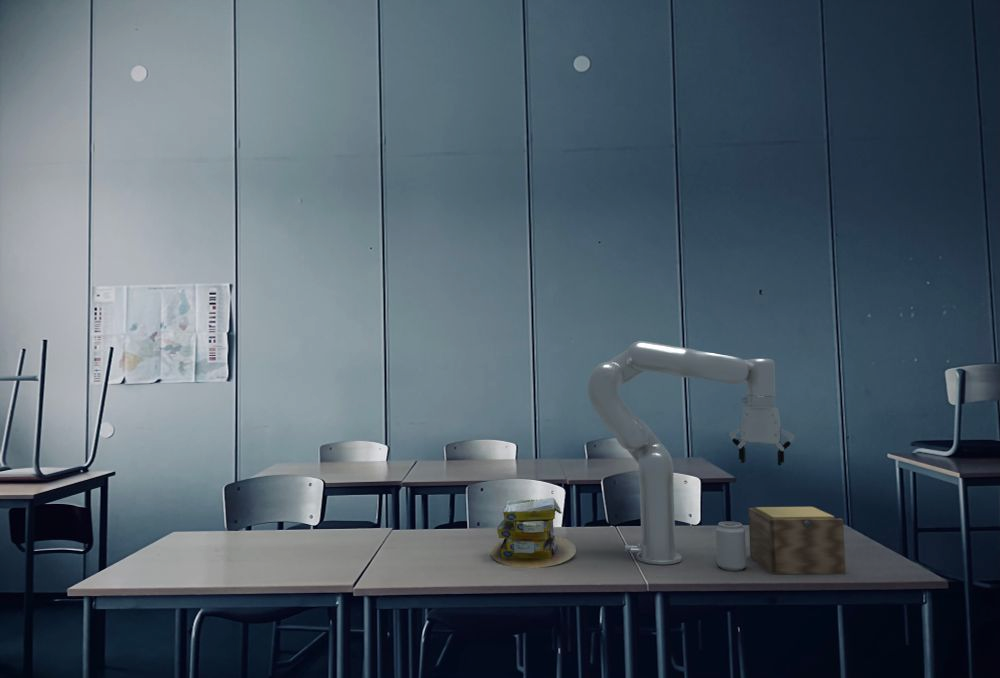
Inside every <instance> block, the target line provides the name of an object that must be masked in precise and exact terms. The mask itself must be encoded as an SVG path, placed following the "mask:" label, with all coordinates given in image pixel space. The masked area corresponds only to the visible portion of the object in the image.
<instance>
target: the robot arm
mask: <svg viewBox="0 0 1000 678" xmlns="http://www.w3.org/2000/svg"><path fill="white" fill-rule="evenodd" d="M644 372H651V373H657V374H663V375H667V376H673V377H679V378H681V377H682V378H686V379H687V378H692V379H701V380H708V381H714V382H715V381H716V382H720V383H725V384H729V385H738V384H744V383H745V384H746V396H744V397H741V403H744V404H746V406H743V409H742V415H741V426H740V427H738V428H736V429H733V430H731V431H729V432H728V435H729V437H730V439H731V441H732V443H733V444H734V445H735V446H736V447H737V448H738V460H740V463H741V464H744V463H746V448H745V446H746V444H748V443H749V444H750V443H752V444H765V445H766V444H767V445H771V444H772V445H775V446H776V447H777V448H778V451H777V466H782V464H783V463H785V450H786V449H787V448H788V447H789V446H791V444H792V443H793V441H794V439H795V437H796V435H794V434H793V433H791V432H789V431H788V430H785V429H783V428H781V418H780V413H779V408H778V407H776V363H775V361H774V360H773V359H771V358H750V359H742V358H741V357H738V356H732V355H731V356H730V355H726V354H725V355H724V354H718V353H713V352H706V351H701V350H698V349H692V348H689V347H688V348H687V347H683V346H676V345H675V346H674V345H668V344H662V343H659V342H650V341H644V340H638V341H635V342H632V343H631V344H630V345H629V347H628V348H627V349H626V350H625V351H623V352H621V353H620V354H617V355H616V356H615V357H613V358H611V359H610V360H608V361H604V362H601V363H598V365H597V366H596V367H594V369H593V371H592V373H591V375H590V378H589V381H588V384H587V393H588V399H589V402H590V404H591V407H592V408H593V410H594V411H595V413H596V414H597V415H598V417H599V418H600V419H601V420H602V422H603V423H604V425H605V426H606V427H607V429H608V430H609V431H610V433H611V434H612V435H613V437H614V438H615V439H616V441H617V443H618V444H619V445H620V447H621V448H622V449H625V450H626V451H627V452H628V453H629V454H630V456H631V457H632V458H633V459H634V460H635V461H636V463H637V465H638V480H639V481H638V482H639V504H640V505H639V506H640V510H639V511H640V536H641V537H640V538H641V540H639V542H638V543H636V544H634V545H633V544H625V546H624V549H625V553H627V552H629V553H631V554H636V555H635V557H636V559H637V560H638V561H639V562H641V563H645V564H650V565H659V566H660V565H663V566H664V565H673V564H674V565H675V564H677V563H680V562H681V561H682V555H681V554H680V553H678V552H676V551H677V550H676V523H675V522H676V521H675V519H676V518H675V498H674V497H675V495H674V493H675V492H674V464H673V463H674V462H673V459H672V456H671V454H670V452H669V451H668V450H667V448H666V446H665V445H664V444H663V443H662V442H661V441H660V439H658V437H657V436H656V435H655V433H654V432H653V431H652V430H651V428H650V427H649V426H648V425H647V424H646V422H644V421H643V419H641V418H639V417H637V416H636V415H635V414H634V413H633V411H632V409H630V408H629V406H628V405H627V403H626V402H625V401H624V400H623V399H622V397H621V396H620V394H619V391H618V389H619V387H621V386H623V385H625V384H626V383H628V382H630V381H631V380H632V379H634V378H637V376H639V375H641V374H642V373H644ZM739 433H740V434H741V435H740V439H741V441H740V440H739V439H738V438H737V436H736V435H737V434H739ZM782 435H783V436H785V437H786V438H787V440H786V441H785V442H784V444H783V443H782V442H781V439H782Z"/></svg>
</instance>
